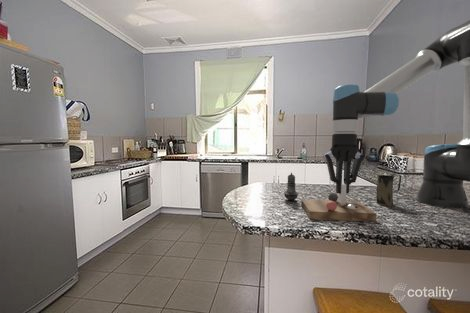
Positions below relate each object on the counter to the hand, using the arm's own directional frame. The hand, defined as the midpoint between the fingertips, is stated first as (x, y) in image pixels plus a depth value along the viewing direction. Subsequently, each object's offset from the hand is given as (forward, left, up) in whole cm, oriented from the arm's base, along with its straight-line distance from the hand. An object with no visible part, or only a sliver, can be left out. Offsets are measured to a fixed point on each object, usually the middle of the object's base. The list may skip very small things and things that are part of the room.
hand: (341, 202), depth 77 cm
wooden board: (+2, 0, -4) cm, 4 cm away
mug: (-22, -13, -4) cm, 26 cm away
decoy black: (+1, -6, 0) cm, 6 cm away
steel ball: (-3, 0, -2) cm, 4 cm away
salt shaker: (+15, -13, -4) cm, 20 cm away
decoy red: (+5, +6, 0) cm, 8 cm away
